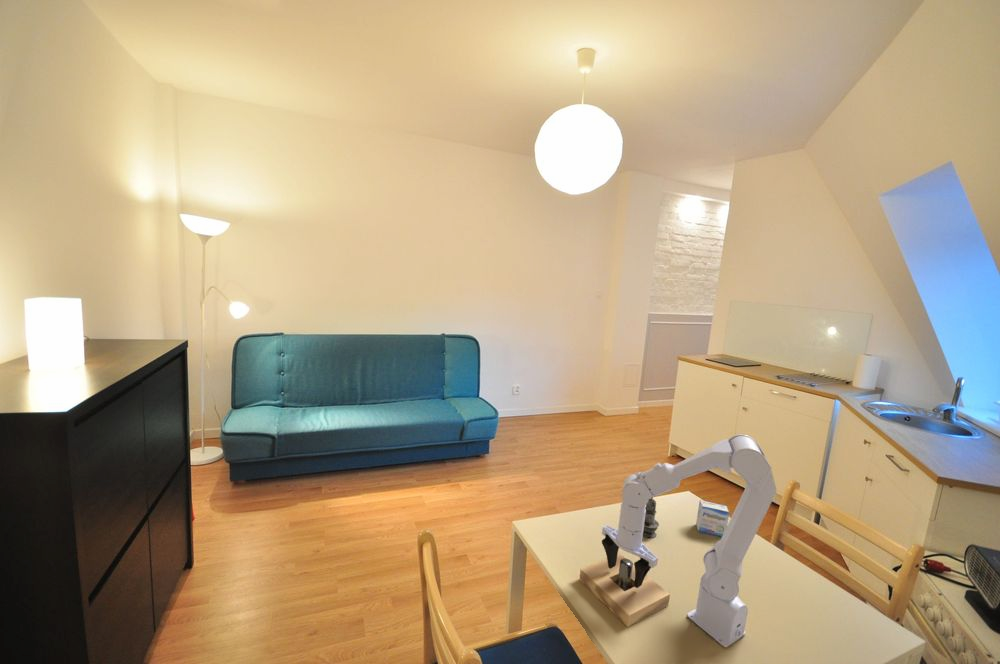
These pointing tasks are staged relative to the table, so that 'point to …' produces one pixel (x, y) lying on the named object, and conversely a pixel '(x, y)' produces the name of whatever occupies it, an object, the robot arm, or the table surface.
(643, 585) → the oak hole block
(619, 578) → the metal peg
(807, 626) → the table surface
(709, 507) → the medicine box
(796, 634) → the table surface
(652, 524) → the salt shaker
